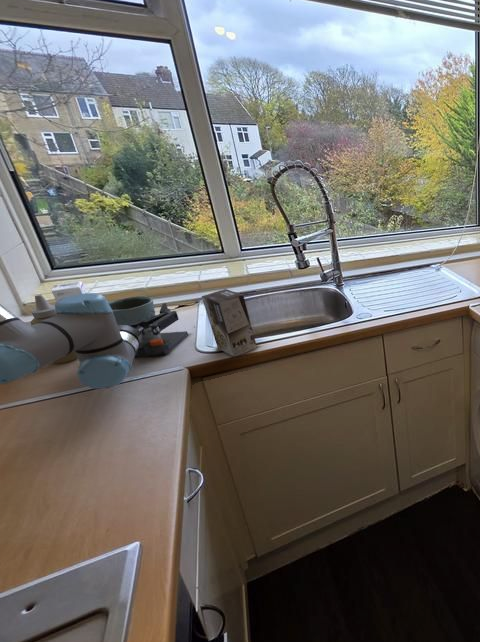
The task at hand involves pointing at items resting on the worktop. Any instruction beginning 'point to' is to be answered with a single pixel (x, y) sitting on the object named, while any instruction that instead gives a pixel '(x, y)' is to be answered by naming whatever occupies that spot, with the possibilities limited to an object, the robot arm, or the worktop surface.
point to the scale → (169, 343)
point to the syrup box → (67, 290)
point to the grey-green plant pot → (134, 313)
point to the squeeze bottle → (45, 312)
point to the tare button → (156, 342)
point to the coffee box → (229, 321)
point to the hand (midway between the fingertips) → (134, 312)
